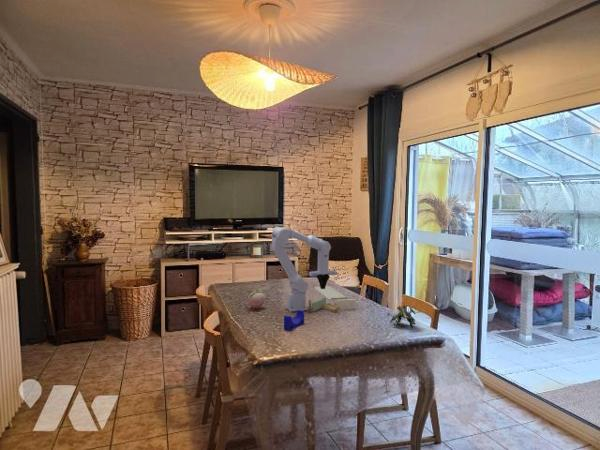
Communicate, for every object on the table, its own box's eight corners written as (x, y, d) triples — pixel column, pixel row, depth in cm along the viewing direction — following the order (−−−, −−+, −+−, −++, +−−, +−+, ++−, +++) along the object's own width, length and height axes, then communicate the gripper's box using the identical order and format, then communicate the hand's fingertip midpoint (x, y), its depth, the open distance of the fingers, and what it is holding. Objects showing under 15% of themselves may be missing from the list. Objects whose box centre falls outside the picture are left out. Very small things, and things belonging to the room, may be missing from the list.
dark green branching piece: (410, 339, 171) (423, 322, 165) (388, 336, 169) (400, 318, 162) (403, 318, 180) (415, 302, 173) (382, 315, 178) (393, 298, 171)
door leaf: (313, 311, 193) (313, 302, 193) (310, 310, 194) (310, 302, 194) (325, 306, 203) (325, 298, 203) (322, 305, 204) (323, 297, 204)
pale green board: (309, 312, 192) (309, 300, 192) (308, 311, 193) (308, 300, 193) (355, 308, 200) (355, 297, 199) (354, 308, 201) (354, 297, 201)
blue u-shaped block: (295, 322, 177) (295, 309, 177) (304, 323, 175) (304, 310, 175) (280, 329, 167) (281, 315, 167) (289, 331, 165) (289, 317, 164)
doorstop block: (334, 313, 192) (334, 308, 192) (322, 309, 200) (322, 304, 200) (340, 312, 194) (340, 307, 194) (328, 307, 203) (328, 303, 203)
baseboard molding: (326, 300, 219) (346, 299, 222) (326, 295, 219) (346, 294, 221) (311, 288, 249) (329, 288, 252) (311, 284, 249) (329, 283, 252)
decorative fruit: (256, 305, 204) (256, 287, 203) (268, 308, 199) (268, 289, 199) (243, 309, 196) (244, 290, 196) (255, 312, 192) (256, 292, 191)
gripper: (312, 264, 197) (312, 291, 198) (338, 263, 202) (338, 289, 202) (308, 262, 204) (307, 288, 205) (333, 261, 208) (333, 286, 209)
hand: (322, 288), depth 204 cm, fingers closed
